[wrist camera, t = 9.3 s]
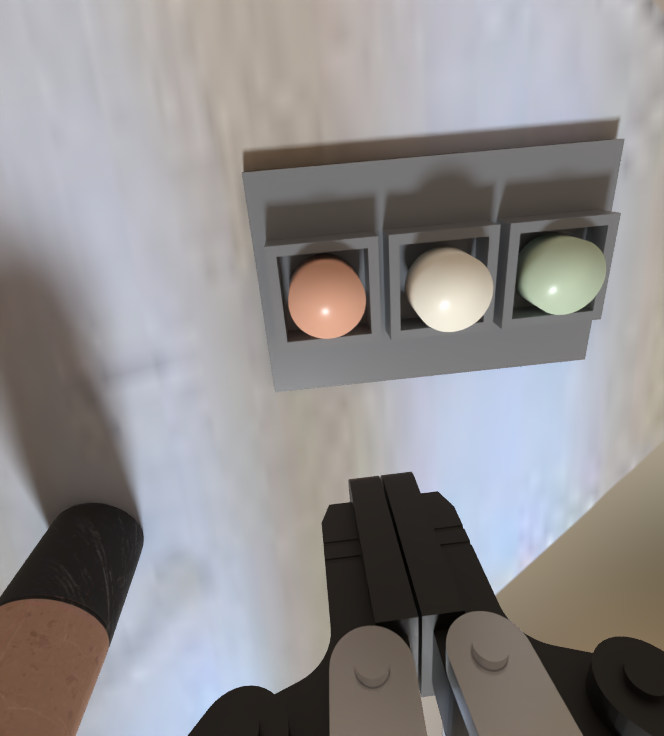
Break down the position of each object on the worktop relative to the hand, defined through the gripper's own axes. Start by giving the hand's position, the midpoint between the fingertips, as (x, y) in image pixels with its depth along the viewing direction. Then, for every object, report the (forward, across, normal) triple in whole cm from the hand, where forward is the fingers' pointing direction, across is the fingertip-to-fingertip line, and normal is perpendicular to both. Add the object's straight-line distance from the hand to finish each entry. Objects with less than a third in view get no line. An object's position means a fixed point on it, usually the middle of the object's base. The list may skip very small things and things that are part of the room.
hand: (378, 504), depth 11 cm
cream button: (+18, -7, 0) cm, 19 cm away
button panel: (+20, -7, 0) cm, 22 cm away
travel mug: (+21, +20, +19) cm, 35 cm away
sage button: (+19, -14, 0) cm, 23 cm away
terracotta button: (+19, 0, 0) cm, 19 cm away
